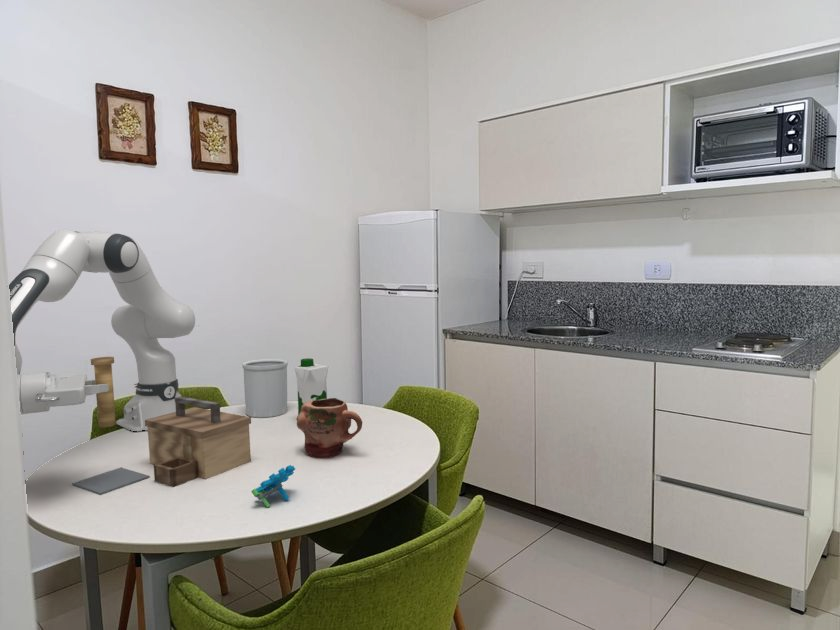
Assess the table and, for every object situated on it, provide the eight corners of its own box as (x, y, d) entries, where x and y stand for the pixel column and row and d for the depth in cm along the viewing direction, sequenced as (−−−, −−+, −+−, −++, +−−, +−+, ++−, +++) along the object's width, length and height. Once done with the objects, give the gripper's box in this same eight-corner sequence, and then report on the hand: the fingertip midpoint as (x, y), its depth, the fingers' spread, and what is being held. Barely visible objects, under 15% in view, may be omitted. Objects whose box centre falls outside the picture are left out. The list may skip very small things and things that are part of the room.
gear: (282, 478, 134) (298, 456, 128) (297, 499, 133) (313, 477, 127) (242, 501, 126) (256, 478, 120) (257, 523, 124) (272, 501, 118)
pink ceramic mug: (373, 448, 159) (372, 398, 158) (354, 464, 148) (353, 410, 146) (308, 443, 166) (306, 394, 164) (285, 457, 154) (283, 405, 153)
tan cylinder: (91, 426, 137) (86, 359, 136) (111, 421, 141) (106, 356, 140) (102, 429, 135) (97, 360, 133) (122, 424, 139) (118, 357, 137)
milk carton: (315, 416, 194) (313, 356, 192) (333, 420, 188) (331, 359, 186) (293, 422, 187) (291, 360, 185) (311, 427, 181) (309, 363, 179)
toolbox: (123, 471, 146) (118, 407, 144) (196, 447, 164) (193, 390, 162) (180, 489, 133) (176, 419, 132) (253, 461, 152) (250, 399, 150)
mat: (72, 484, 138) (72, 483, 138) (121, 468, 148) (121, 467, 148) (100, 494, 131) (100, 493, 131) (149, 477, 141) (149, 475, 141)
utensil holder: (276, 404, 210) (274, 356, 209) (297, 412, 199) (295, 361, 198) (237, 412, 201) (235, 362, 199) (257, 421, 190) (254, 367, 188)
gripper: (32, 387, 122) (107, 379, 128) (42, 371, 140) (107, 365, 146) (35, 416, 122) (109, 407, 129) (44, 397, 140) (109, 390, 147)
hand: (108, 385), depth 138 cm, fingers closed on tan cylinder, 4 cm apart
